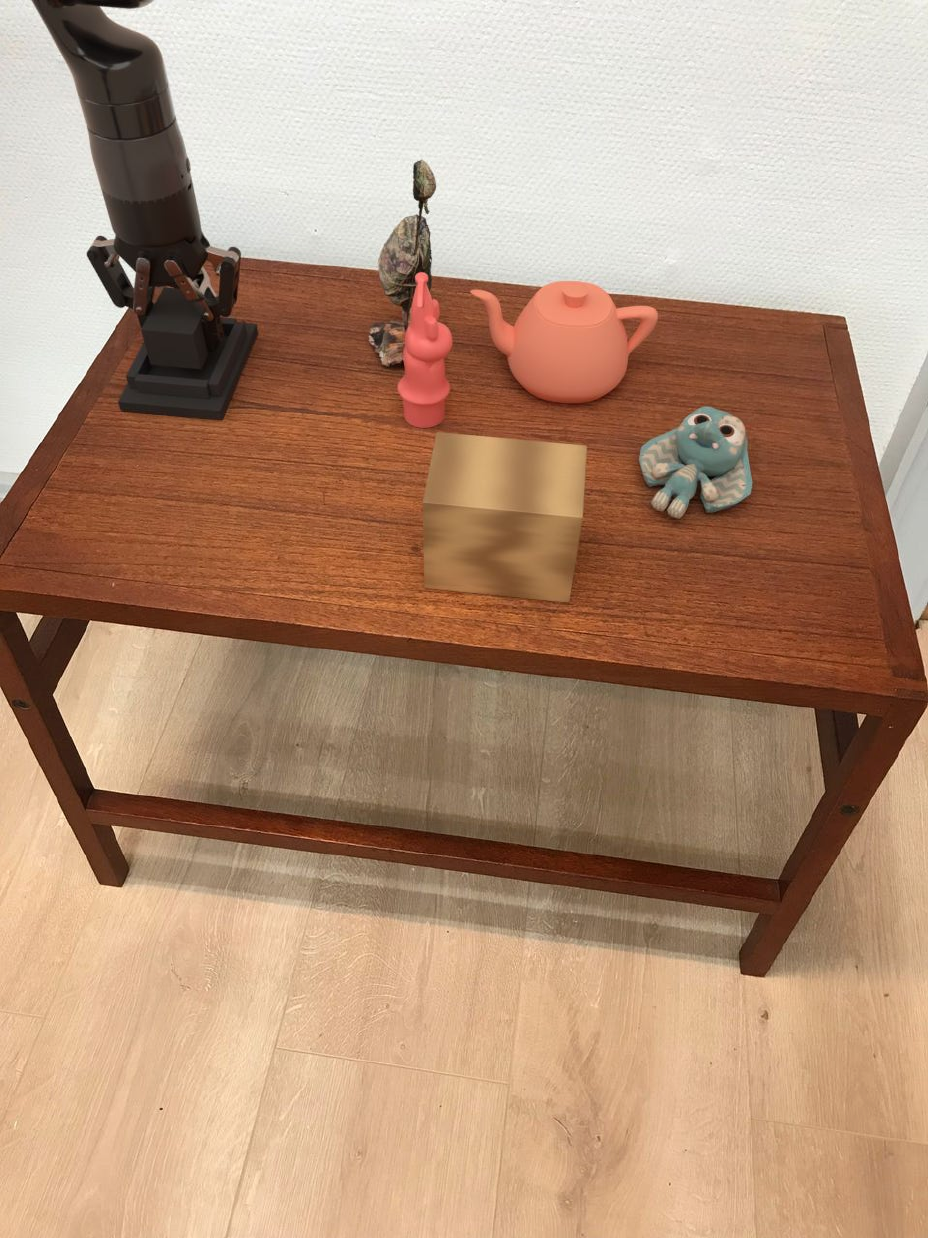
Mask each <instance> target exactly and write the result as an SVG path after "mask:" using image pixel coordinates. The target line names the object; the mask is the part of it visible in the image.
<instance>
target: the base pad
mask: <svg viewBox="0 0 928 1238" xmlns="http://www.w3.org/2000/svg"><path fill="white" fill-rule="evenodd" d="M220 317H221V322H222V327H223V331H224V336H223V339H222V342H221V344H220V346H219V347H217V349H216V351H215V352H209V354H208V356H207V358H206V360H205V363H204V365H203V367H202V369H191V368H179V367H168V366H157V365H151V364H150V360H149V357H148V353H147V350H146V346H145V343H144V342H143V343H142V345H141V346H140V348H139V349H138V352H137V354H136V356H135V358H134V360H133V361H132V363H131V365H130V367H129V369H128V371H127V373H126V375H125V379H126V381H127V383H126V385H125V387H124V389H123V391H122V393H121V395H120V397H119V399H118V401H117V403H118V406H119V409H120V411H121V412H125V413H126V412H128V413H136V414H137V413H138V414H147V415H148V414H149V415H160V416H171V417H181V418H191V419H192V418H193V419H203V420H204V419H205V420H215V421H223V420H224V418H225V416H226V413H227V410H228V407H229V405H230V402H231V401H232V398H233V395H234V393H235V390H236V389H237V386H238V383H239V381H240V378H241V376H242V374H243V371H244V369H245V366H246V364H247V361H248V360H249V357H250V354H251V352H252V350H253V348H254V345H255V343H256V339H257V337H258V335H259V329H258V324H257V323H253V322H252V323H251V322H245V321H237V318H233V317H223V316H220Z"/></svg>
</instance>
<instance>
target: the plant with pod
mask: <svg viewBox="0 0 928 1238" xmlns="http://www.w3.org/2000/svg"><path fill="white" fill-rule="evenodd" d="M412 174H413V175H412V179H413V181H412V184H413V185H412V196H413V200H415V201H416V202H418V204H417V205H418V206H417V207H418V209H419V211H418V214H414V215H409V216H408V215H407V216H405V217H404V218H403V219H401V221H400V222H399V223H398V224H397V225H396V226H395V227H394V229H392V232H391V233H390V235H389V237H388V238H387V239H386V241H385V242H384V244H383V246H382V248H381V251H380V253H379V257H378V259H377V262H378V265H377V266H378V268H377V269H378V277H379V280H380V283H381V286H382V289H383V290H384V295H385V296H386V297H387V298H388V300H390V302H391V303H392V305H396V306H399V307H401V308H402V311H401V319H402V321H399V320H397V319H391V320H388V321H386V322H384V321H382V322H380V321H379V322H376V323H371V324H370V326H369V335H368V342H369V344H371V345H372V347H375V349H374V352H375V353H378V354H379V355H378V357H380V361H381V365H383V366H386V367H390V364H391V365H392V366H395V365H396V364H397V363H398V364H402V361H404V359H403V352H404V347H405V335H406V331H407V328H408V326H409V324H410V321H411V306H412V301H413V297H414V293H415V289H416V286H417V283H416V281H415V276H416V274H417V273H420V272H423V273H426V274H427V275H428V282H427V283H426V284H427V286H428V289H429V292H430V293H431V289H432V282H433V279H432V276H433V275H432V263H433V262H432V261H433V257H432V243H431V231H430V226H429V224H427V218H426V217H425V216H423V209H424V212H425V214H426V215H429V214H430V212H431V211H430V210H429V207H428V205H429V204H428V201H429V199H431V198H432V197H433V196H434V194H435V192H436V190H437V181H436V177H435V174H434V173H433V171H432V169H431V167H430V165H429V164H428V163H427V162H426V161H425V160H424V159H420V160H417V161H416V162H414V163H413V167H412Z"/></svg>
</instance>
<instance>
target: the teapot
mask: <svg viewBox="0 0 928 1238" xmlns="http://www.w3.org/2000/svg"><path fill="white" fill-rule="evenodd" d="M470 294H471V295H472V296H473V297H475V298H476V299H478V300H479V301H481V302H482V303H483V305H484V307H485V309H486V311H487V316H488V327H489V332H490V337H491V341H492V342H493V344H494V346H495V348H496V349H498V350H499V352H500V353H502V354H503V355H505V356H507V362H508V366H509V369H510V372H511V374H512V375H513V377H514V378H515V379H516V381H517V382H518V383H519V384H520V385H521V387H522V388H523V389H525V391H527V392H528V393H529V394H530V395H532V396H534V397H536V398H538V399H541V400H542V401H543V400H544V401H547V402H552V403H558V404H559V403H560V404H583V403H584V404H585V403H590V402H593V401H596V400H598V399H601V398H602V397H604V396H605V395H607V394H609V393H610V392H612V390H614V389H615V388H616V387H617V386H618V385H619V384H620V383H621V381H622V380H623V378H624V377H625V375H626V373H627V369H628V363H629V356H630V354H631V353H632V352H634V351H635V350H636V349H637V347H639V346H640V345H641V344H642V343H643V342H644V341H645V340H646V339H647V338H648V337H649V336H650V334H651V333H652V331H653V330H654V329H655V327H656V325H657V323H658V319H659V313H658V311H657V309H656V308H655V307H652V306H648V305H631V306H624V307H616V305H615V303H614V301H613V299H612V297H611V296H610V295H609V294H608V292H607V290H605V289H604V288H602V287H601V286H599V285H596V284H594V283H591V282H588V281H587V282H586V281H580V280H579V281H578V280H560V281H554V282H550V283H548V284H546V285H544V286H542V287H541V288H540V289H538V290H537V292H536V293H535V294H533V296H532V297H531V299H530V300H529V301H528V302H527V304H526V305H525V307H523V309H522V311H521V313H519V315H518V317H517V319H516V321H515V323H514V326H513V325H511V324H509V323H508V322H506V321H505V320H504V317H503V315H502V307H501V304H500V301H499V299H498V298H497V297H496V295H494V294H493V293H491V292H489V291H486V290H483V289H477V288H476V289H471V290H470ZM630 319H631V320H632V319H639V320H640V323H639V325H638V327H637V329H636V331H635V332H634V333H633V335H632V336H631V337H630V339H629V340H628V336H627V332H626V327H625V326H624V323H623V320H630Z"/></svg>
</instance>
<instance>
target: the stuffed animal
mask: <svg viewBox="0 0 928 1238" xmlns="http://www.w3.org/2000/svg"><path fill="white" fill-rule="evenodd" d="M746 434H747V432H746V427H745V425H744V423H743V421H742V420H741V419H739V418H738V417H736V416H734V415H733V414H731V413H729V412H727V411H724V410H721V409H718V408H717V409H716V408H715V407H712V406H702V407H699V408H697V409H696V410H694V411H693V412H692V413H690V414H687V416H686V417H684V419H683V420H682V421H681V423H680V424H679V426H678V427H675V428H673V429H671V430H669V431H667V432H665V433H663V434H661V435H658V436H655V437H653V438H651V439H649V440H648V441H647V442H645V443H644V444H643V445H642V446H641V447H640V452H639V455H638V462H639V466H640V469H641V473H642V476H643V480H644V482H645V483H646V485H647V486H648V487H649V488H650V487H651V488H652V487H655V486H663V487H662V488H661V489H660V490H658V491H657V492H656V494H655V495H654V496H653V498H652V500H651V501H650V503H651V507H652V508H653V509H654V510H656V511H659V512H662V513H663V512H664V511H665V510H666V508H667V507H668V508H667V510H666V511H667V515H669V516H670V517H672V518H674V519H677V520H680V519H681V518H682V517H683V516H684V514H685V512H686V511H687V510H688V508H689V504H690V503H689V502H690V500H691V499H693V497H694V496H695V495H696V493H697V488H698V483H699V482H700V493H699V497H700V500H701V501H702V504H703V507H704V511H705V513H707V514H708V513H716V512H719V511H722V510H726V509H729V508H732V507H733V506H735V505H737V504H738V503H740V502H742V501H743V500H745V499H746V498H747V497H749V496H750V495H751V493H752V490H753V489H752V488H753V479H752V472H751V467H750V458H749V452H748V446H749V445H748V442H749V441H748V438H747V435H746ZM709 478H711V479H709ZM672 497H673V498H674V499H673V500H672V502H671V499H672ZM670 502H671V503H670ZM669 503H670V504H669Z"/></svg>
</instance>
